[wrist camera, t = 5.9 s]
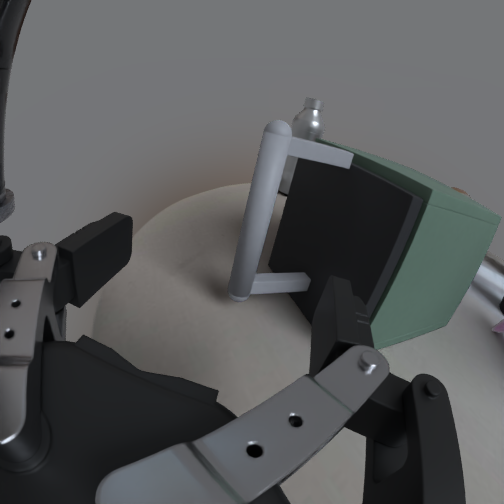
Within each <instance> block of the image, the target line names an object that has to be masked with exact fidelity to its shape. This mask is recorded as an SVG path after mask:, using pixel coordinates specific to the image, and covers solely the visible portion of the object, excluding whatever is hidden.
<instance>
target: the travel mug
mask: <svg viewBox="0 0 504 504" xmlns="http://www.w3.org/2000/svg"><path fill="white" fill-rule="evenodd" d="M500 309H501V310H502V312H503V313H504V297H503V299H502V301H501V303H500Z"/></svg>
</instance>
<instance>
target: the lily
mask: <svg viewBox="0 0 504 504" xmlns="http://www.w3.org/2000/svg"><path fill="white" fill-rule="evenodd" d="M492 331H495V332H500V333H504V319H503V320H502V321H500V322H499V323H498V324H496V325H495V326H494V327H493V328H492Z"/></svg>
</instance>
